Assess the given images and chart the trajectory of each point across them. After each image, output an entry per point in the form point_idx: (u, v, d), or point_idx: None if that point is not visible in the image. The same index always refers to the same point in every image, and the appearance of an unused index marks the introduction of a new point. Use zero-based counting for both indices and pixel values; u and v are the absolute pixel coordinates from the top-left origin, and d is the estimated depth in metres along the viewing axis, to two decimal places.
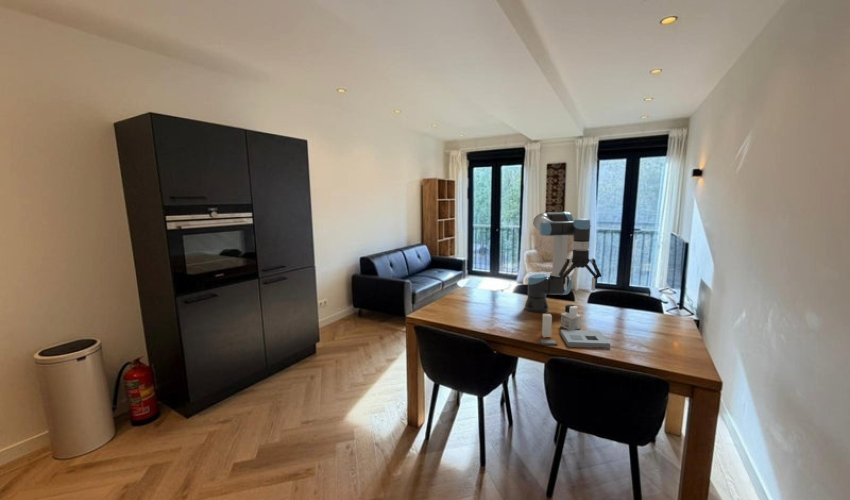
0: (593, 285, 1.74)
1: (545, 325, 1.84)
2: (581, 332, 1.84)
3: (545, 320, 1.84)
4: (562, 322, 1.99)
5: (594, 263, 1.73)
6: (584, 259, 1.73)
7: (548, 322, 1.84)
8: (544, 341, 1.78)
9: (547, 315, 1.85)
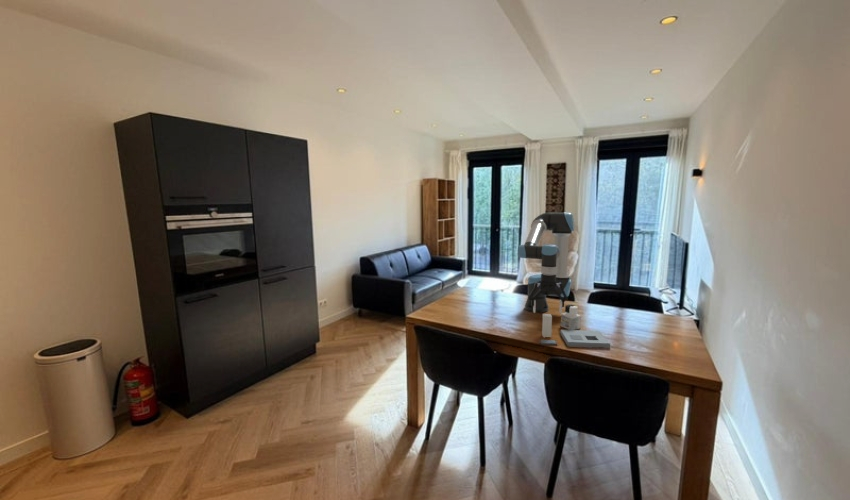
0: (560, 308, 1.82)
1: (545, 325, 1.84)
2: (581, 332, 1.84)
3: (545, 320, 1.84)
4: (562, 322, 1.99)
5: (561, 287, 1.81)
6: (551, 283, 1.81)
7: (548, 322, 1.84)
8: (544, 341, 1.78)
9: (547, 315, 1.85)
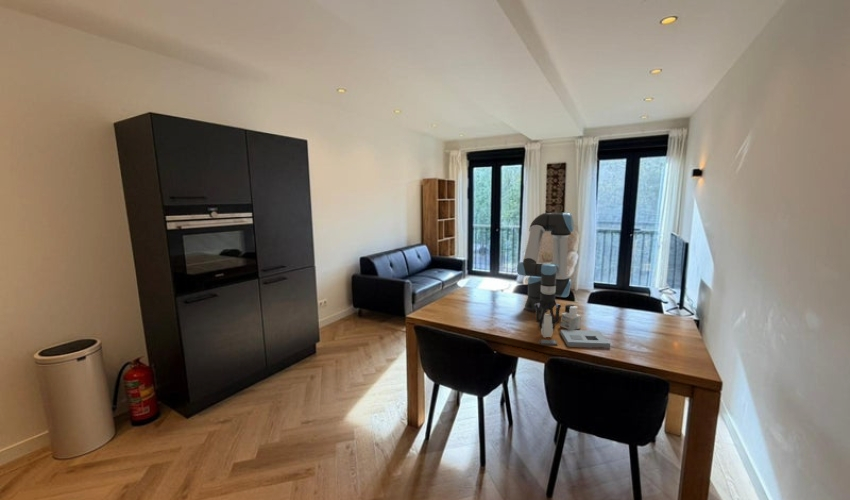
0: (551, 330, 1.85)
1: (545, 325, 1.84)
2: (581, 332, 1.84)
3: (545, 320, 1.84)
4: (562, 322, 1.99)
5: (558, 308, 1.83)
6: (552, 301, 1.83)
7: (548, 322, 1.84)
8: (544, 341, 1.78)
9: (547, 315, 1.85)
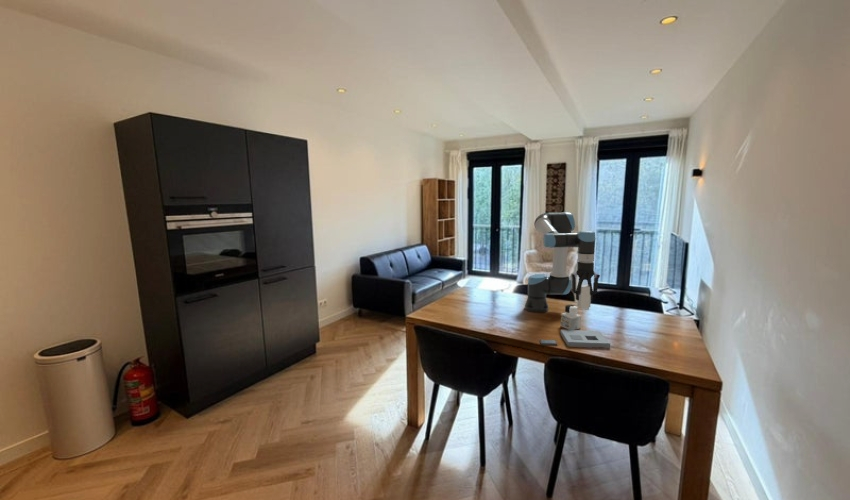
0: (589, 302, 1.74)
1: (582, 296, 1.73)
2: (581, 332, 1.84)
3: (582, 291, 1.73)
4: (562, 322, 1.99)
5: (597, 278, 1.72)
6: (590, 270, 1.72)
7: (586, 293, 1.73)
8: (544, 341, 1.78)
9: (585, 286, 1.74)
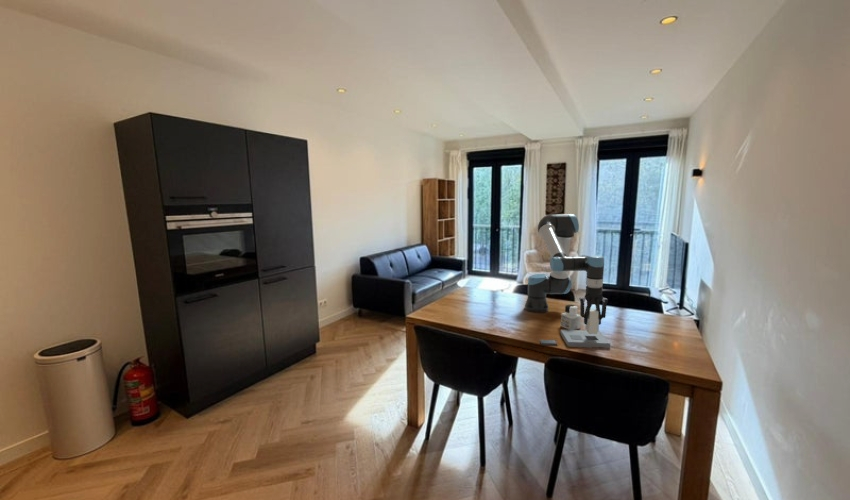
0: None
1: (591, 321, 1.74)
2: (581, 332, 1.84)
3: (591, 315, 1.73)
4: (562, 322, 1.99)
5: (605, 303, 1.72)
6: (599, 295, 1.72)
7: (595, 317, 1.73)
8: (544, 341, 1.78)
9: (593, 310, 1.74)
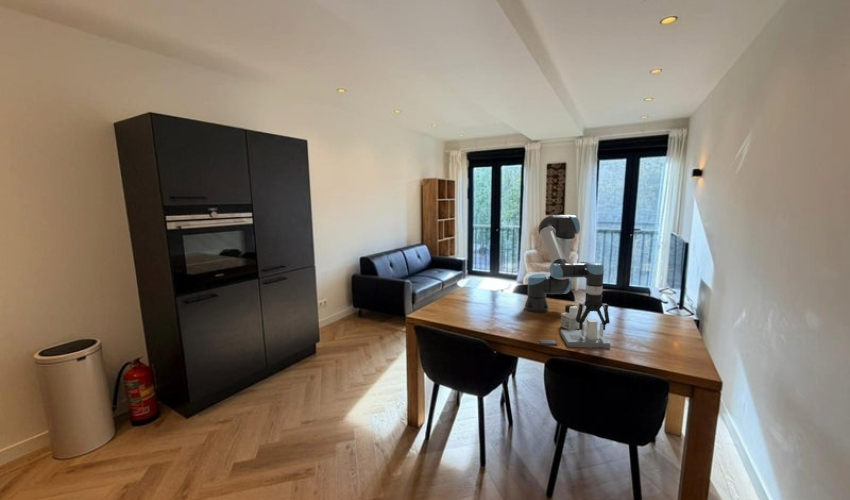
0: (601, 331, 1.75)
1: (590, 331, 1.75)
2: None
3: (590, 326, 1.74)
4: (562, 322, 1.99)
5: (606, 309, 1.73)
6: (598, 302, 1.73)
7: (594, 328, 1.74)
8: (544, 341, 1.78)
9: (592, 320, 1.75)
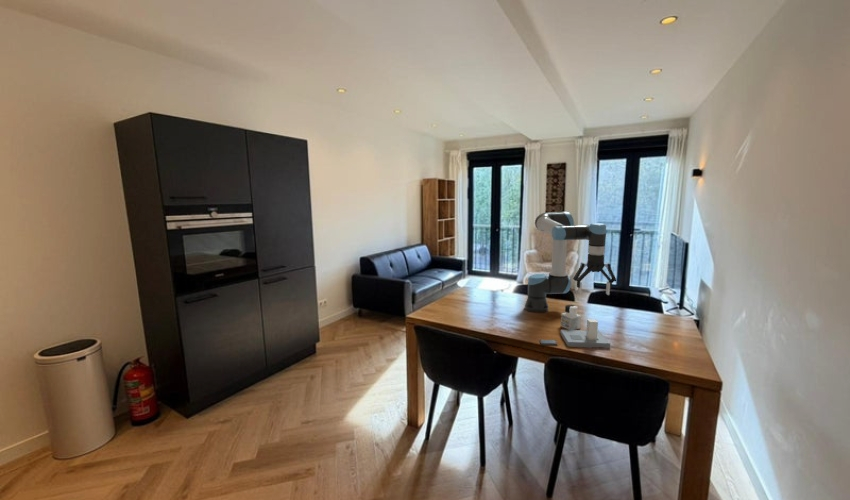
0: (608, 289, 1.75)
1: (590, 331, 1.75)
2: (581, 332, 1.84)
3: (590, 326, 1.74)
4: (562, 322, 1.99)
5: (609, 268, 1.74)
6: (599, 263, 1.74)
7: (594, 328, 1.74)
8: (544, 341, 1.78)
9: (592, 320, 1.75)
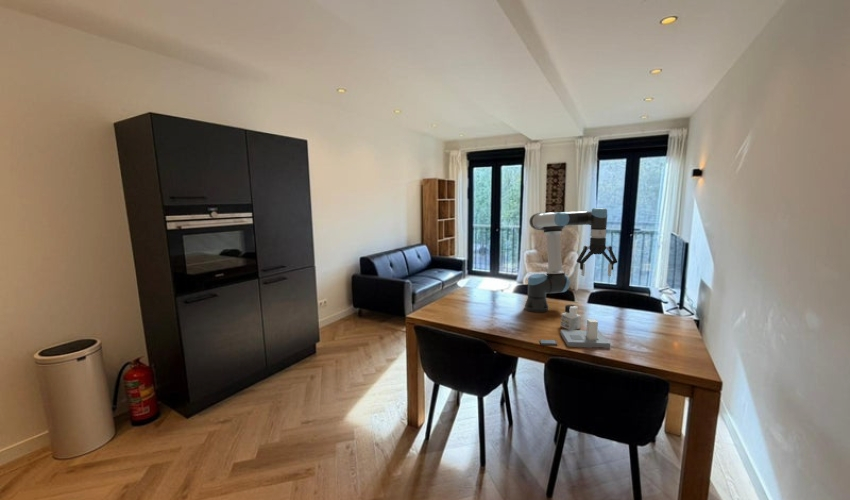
0: (609, 271, 1.85)
1: (590, 331, 1.75)
2: (581, 332, 1.84)
3: (590, 326, 1.74)
4: (562, 322, 1.99)
5: (610, 250, 1.83)
6: (601, 246, 1.84)
7: (594, 328, 1.74)
8: (544, 341, 1.78)
9: (592, 320, 1.75)
